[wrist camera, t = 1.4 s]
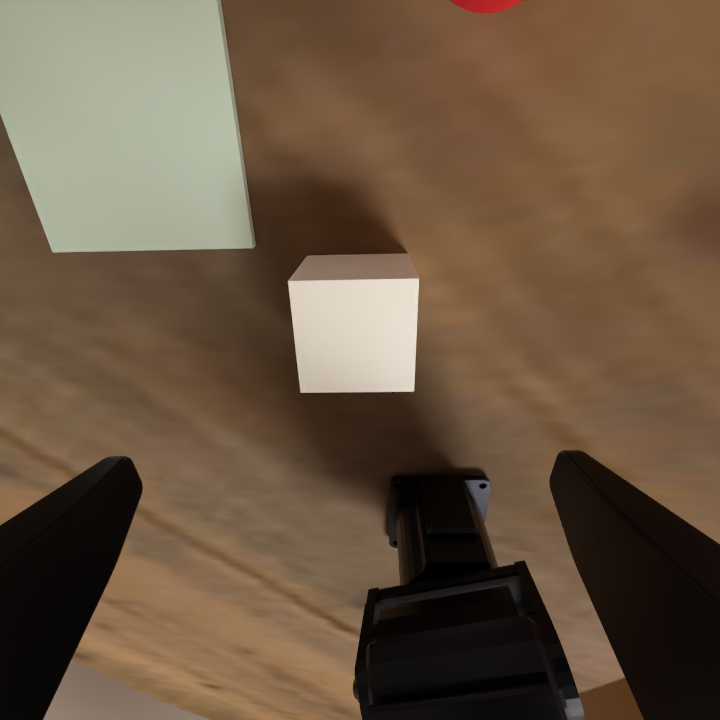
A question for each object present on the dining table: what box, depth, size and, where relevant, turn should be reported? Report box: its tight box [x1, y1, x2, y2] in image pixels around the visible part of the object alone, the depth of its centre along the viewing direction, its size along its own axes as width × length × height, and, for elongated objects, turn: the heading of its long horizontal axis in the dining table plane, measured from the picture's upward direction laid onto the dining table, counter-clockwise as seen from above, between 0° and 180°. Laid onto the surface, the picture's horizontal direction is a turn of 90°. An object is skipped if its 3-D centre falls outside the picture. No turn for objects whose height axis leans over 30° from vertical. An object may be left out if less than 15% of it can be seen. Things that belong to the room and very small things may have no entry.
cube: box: [288, 253, 419, 393], centre depth 18 cm, size 5×5×5 cm
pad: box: [0, 0, 256, 252], centre depth 17 cm, size 10×10×1 cm
